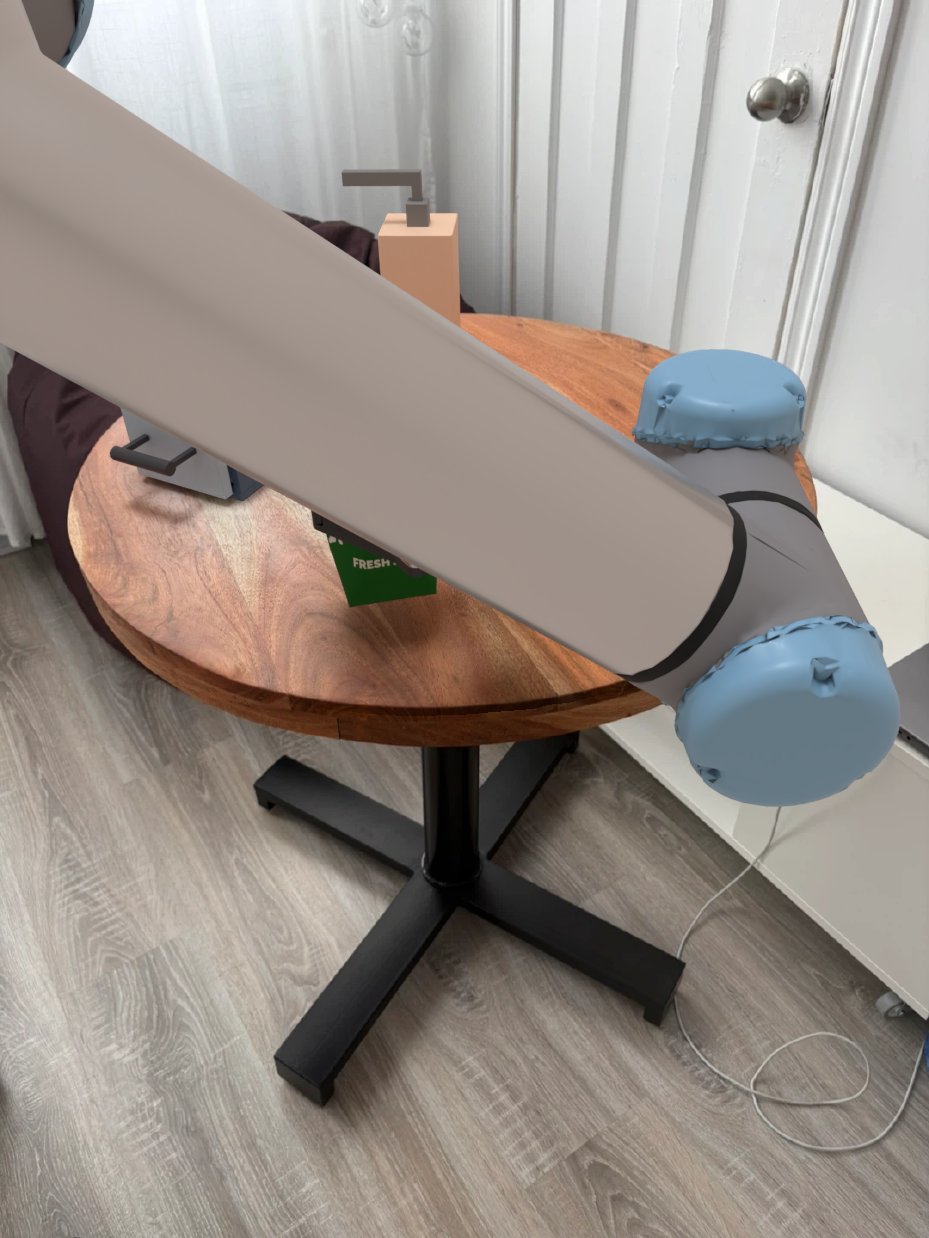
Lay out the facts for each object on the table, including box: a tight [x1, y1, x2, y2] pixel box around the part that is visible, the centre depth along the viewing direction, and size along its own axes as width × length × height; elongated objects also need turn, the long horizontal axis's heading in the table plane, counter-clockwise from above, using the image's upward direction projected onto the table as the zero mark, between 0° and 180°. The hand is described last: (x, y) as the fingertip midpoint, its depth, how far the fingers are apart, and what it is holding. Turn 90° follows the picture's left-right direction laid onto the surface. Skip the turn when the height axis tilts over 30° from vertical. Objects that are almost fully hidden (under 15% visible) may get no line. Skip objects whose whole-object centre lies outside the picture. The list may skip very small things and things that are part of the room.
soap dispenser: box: [341, 168, 462, 329], centre depth 112 cm, size 13×9×22 cm
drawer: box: [109, 407, 233, 500], centre depth 93 cm, size 18×11×8 cm, turn 152°
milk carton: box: [325, 534, 438, 608], centre depth 69 cm, size 9×9×20 cm
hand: (341, 434), depth 71 cm, fingers closed on milk carton, 9 cm apart
